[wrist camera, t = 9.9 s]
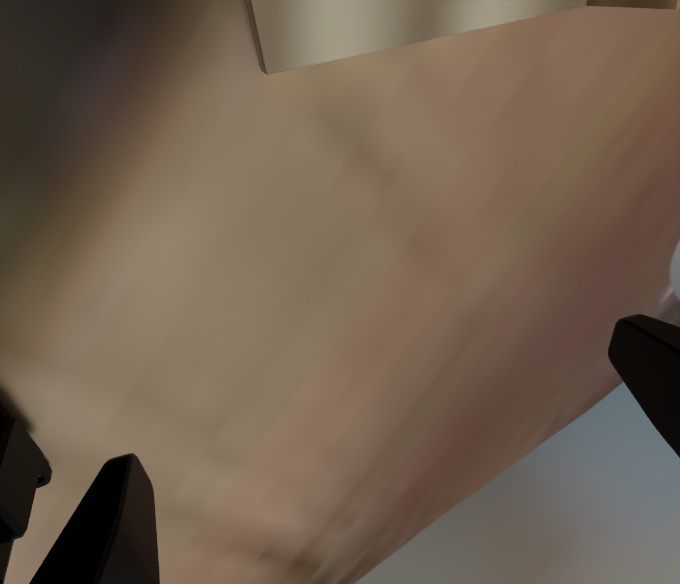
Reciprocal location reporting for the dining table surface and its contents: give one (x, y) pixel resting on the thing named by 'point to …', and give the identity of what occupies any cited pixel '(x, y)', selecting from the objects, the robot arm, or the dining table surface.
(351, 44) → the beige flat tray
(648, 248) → the dining table surface
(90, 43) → the dining table surface
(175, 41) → the dining table surface
